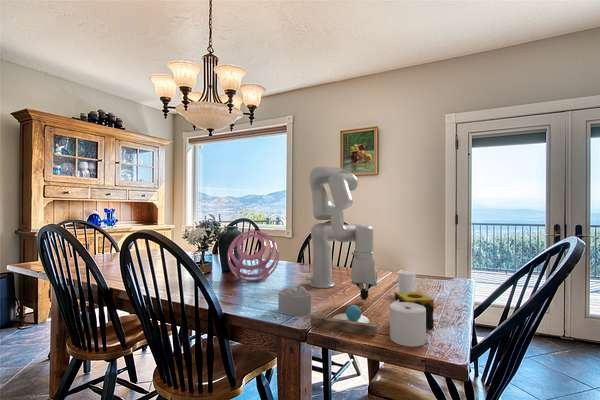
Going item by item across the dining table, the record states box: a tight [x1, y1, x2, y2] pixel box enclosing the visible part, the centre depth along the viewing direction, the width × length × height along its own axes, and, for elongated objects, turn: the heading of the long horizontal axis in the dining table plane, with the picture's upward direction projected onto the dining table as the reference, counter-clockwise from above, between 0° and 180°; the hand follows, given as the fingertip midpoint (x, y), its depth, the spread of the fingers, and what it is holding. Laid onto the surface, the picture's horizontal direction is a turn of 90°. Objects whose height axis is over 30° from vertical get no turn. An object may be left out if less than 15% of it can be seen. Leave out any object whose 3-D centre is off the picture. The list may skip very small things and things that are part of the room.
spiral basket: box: [227, 230, 280, 283], centre depth 181 cm, size 28×28×27 cm
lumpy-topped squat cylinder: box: [277, 286, 312, 317], centre depth 129 cm, size 10×13×9 cm
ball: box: [345, 304, 362, 321], centre depth 118 cm, size 6×6×6 cm
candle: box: [394, 291, 435, 330], centre depth 114 cm, size 10×10×10 cm
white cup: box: [397, 270, 417, 292], centre depth 151 cm, size 8×8×10 cm
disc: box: [332, 312, 370, 324], centre depth 118 cm, size 13×13×1 cm
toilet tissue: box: [389, 300, 427, 347], centre depth 102 cm, size 11×12×10 cm
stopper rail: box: [310, 315, 378, 337], centre depth 109 cm, size 22×2×3 cm, turn 66°
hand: (364, 299), depth 138 cm, fingers closed
